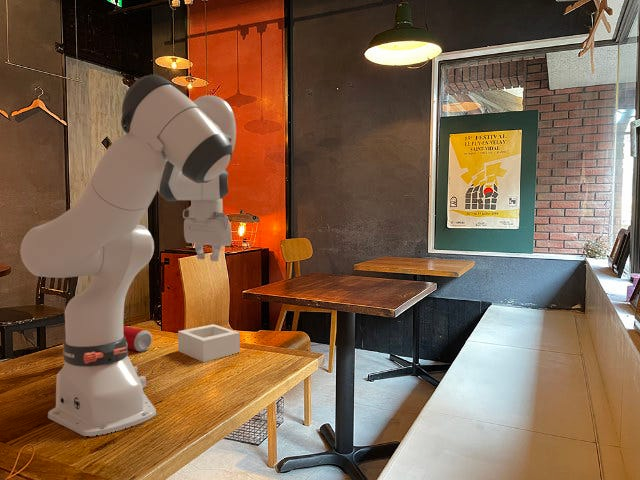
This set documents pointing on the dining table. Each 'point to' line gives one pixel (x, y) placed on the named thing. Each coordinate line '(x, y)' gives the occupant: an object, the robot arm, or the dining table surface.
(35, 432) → the dining table surface
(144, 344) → the beverage can
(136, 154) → the robot arm
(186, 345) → the white square frame
